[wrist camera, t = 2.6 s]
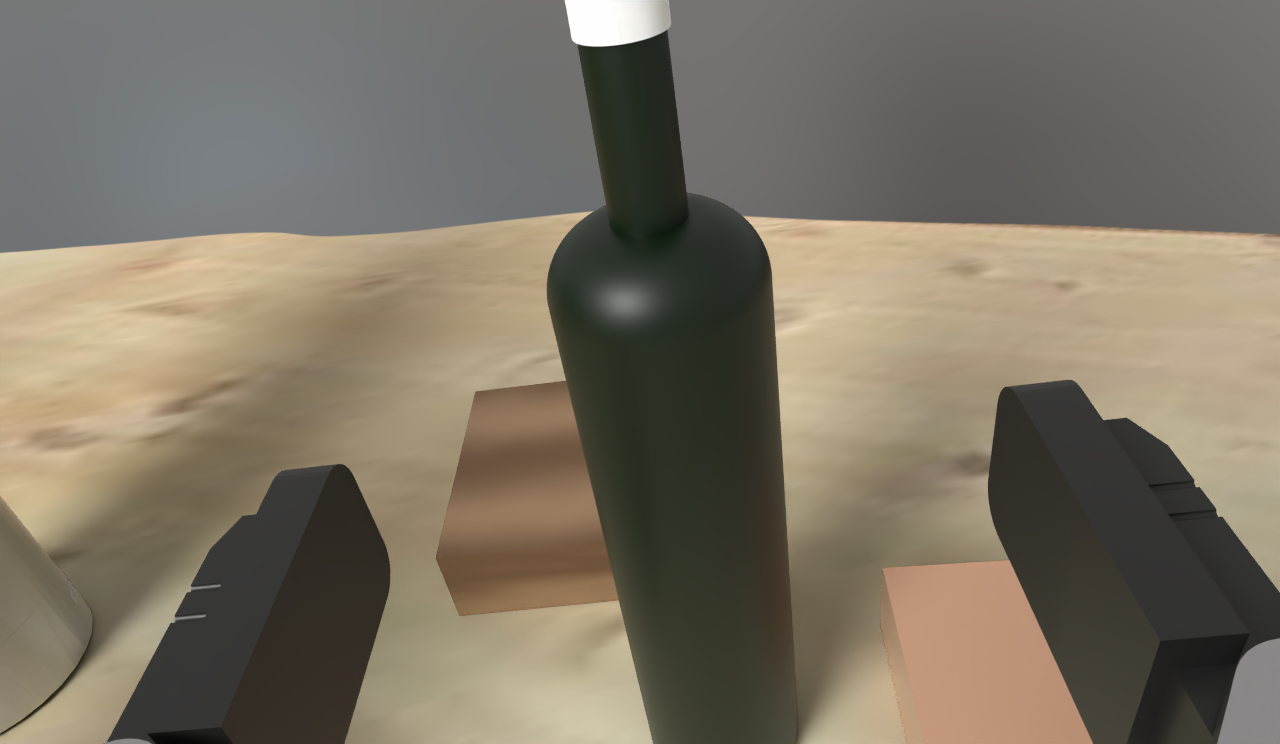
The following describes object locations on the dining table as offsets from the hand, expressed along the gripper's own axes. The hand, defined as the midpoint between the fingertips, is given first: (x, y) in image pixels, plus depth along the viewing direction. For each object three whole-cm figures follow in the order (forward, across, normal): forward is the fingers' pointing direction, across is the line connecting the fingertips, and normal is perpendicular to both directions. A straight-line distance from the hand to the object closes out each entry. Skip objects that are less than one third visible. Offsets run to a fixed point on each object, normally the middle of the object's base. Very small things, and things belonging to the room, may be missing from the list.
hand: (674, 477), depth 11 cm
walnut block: (+24, -6, -24) cm, 35 cm away
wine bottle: (+12, -1, -24) cm, 27 cm away
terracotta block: (+11, +10, -24) cm, 29 cm away
